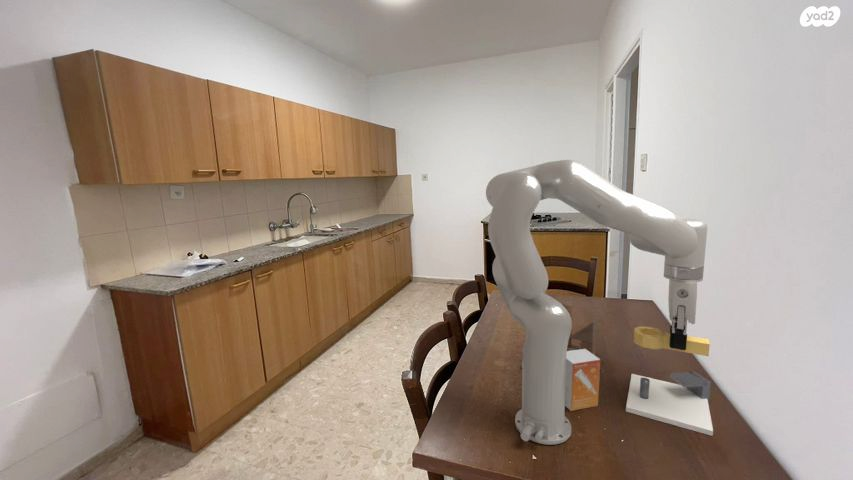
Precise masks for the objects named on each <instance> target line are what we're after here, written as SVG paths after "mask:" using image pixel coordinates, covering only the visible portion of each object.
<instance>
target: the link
mask: <svg viewBox="0 0 853 480" xmlns="http://www.w3.org/2000/svg"><path fill="white" fill-rule="evenodd" d="M633 343H634V344H636V345H638V346H639V347H641V348H646V349H649V350H660V349H666V350H672V351H676V352H683V353H688V354H691V355H692V354H694V355H699V356H703V357H704V356H705V357H709V355H710V346H711V345H710V340H709V339H708V338H703V337H697V336H691V335H687V343H686V350H680V349H674V348H670V332H666V331H663V330H661V329H659V328H657V327H651V326H645V325H644V326H637V327H634V332H633Z"/></svg>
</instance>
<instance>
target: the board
mask: <svg viewBox="0 0 853 480" xmlns="http://www.w3.org/2000/svg"><path fill="white" fill-rule="evenodd" d="M641 378H647V379H649V380H650V384H649V398H648V399H643V398H641V397H640V396H639V395H640V380H641ZM628 388H629V389H628V393H627V400H626V406H625V412H627V413H630V414H635V415H637V416H641V417H644V418H648V419H652V420H654V421H658V422H659V421H660V422H662V423H666V424H668V425H671V426H672V425H673V426H676V427H680V428H682V429H683V428H684V429H686V430H690V431H694V432H697V433H699V434H700V433H701V434H704V435H708V436H710V437H711V436H712V437H713V436H714V428H713V421H712V417H711V412H710V411H711V410H710V406H709V403H708V400H707V399H701V398H700V397H698V396H697V395H695V394H694V393H693V392H691V391H690V390H689V389H687V388H686V387H683V386H682V385H680V384H679V383H673V382H670V381H665V380H660V379H656V378H653V377H647V376H643V375H641V374H640V375H639V374H635V373H631V376H630V382H629V387H628Z"/></svg>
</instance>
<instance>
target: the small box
mask: <svg viewBox="0 0 853 480" xmlns="http://www.w3.org/2000/svg"><path fill="white" fill-rule="evenodd" d="M600 371H601V359H600V357H598V356H597V355H596V354H595V355H593V354H592V353H591V352H589V351H588V350H586V349H581V348H580V349H579V350H571V351H567V354H566V383H565V408H567V409H568V410H569V411H570V412H573V411H577V410H583V409H588V408H593V407H594V408H595V407H599V392H600V391H599V390H600V374H601V372H600Z"/></svg>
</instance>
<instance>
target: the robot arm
mask: <svg viewBox="0 0 853 480" xmlns="http://www.w3.org/2000/svg"><path fill="white" fill-rule="evenodd" d="M485 197H486V200H487V202H488V204H489V205H490V206H491V207H492V209H491V213H490V214H489V215H490V216H489V219H488V225H487V226H488V228H487V232H488V239H489V242H490V245H491V248H492V250H493V253H494V254H495V258H494V260H493V263H492V270H491V271H492V276H493V279H494V282H495V283H496V286H497V288H498V291H499V293H500V295H501V297H502V298H503V301H504V303H505V305H506V307H507V310H508V311H509V313H510V315H511V316H512V318H513V319H515V321H516V322H517V323H518V324H520V326H522V328H523V329H524V330H525V332H526V338H525V341H524V343H523V344H524V345H523V348H522V354H521V355H522V356H521V358H522V361H521V365H522V367H521V368H522V369H521V370H522V371H521V372H522V374H521V375H522V377H521V381H522V382H521V390H522V391H521V409H519V410H518V411H517V412H516V414H515V418H514V423H515V428H516V429H517V430H518V432H519V433H520V438H521V440H523V441H524V442H528V441H532V442H534V443H537V444H540V445H541V444H542V445H549V446H551V445H558V444H562V443H564V442H566V441H567V440H569V438H570V437H571V435H572V424H571V423H570V419H568V417H567V416H565V415H566V414H565V413H566V412H565V409H566V406H565V383H566V354H567V346H568V341H569V337H570V333H571V328H572V329H573V320H572V321H571V317H570V314H569V313H568V311H567V310H566V308H565V307H564V306H563V305H562V304H561V302H559V301H558V300H557V299H555V298H553V297H552V296H550V295H549V294H548V293H546V291H547V289H548V287H549V276H548V272H547V268H546V267H545V265H544V262H543V260H542V258H541V255H540V253H539V251H538V249H537V246H536V245H535V243H534V239H533V236H532V233H531V227H530V225H531V220H532V217H533V215H534V212H535V211H536V208H537V207H538V206H539V204H540V201H543V200H547V199H551V200H553V199H554V200H555V199H556V200H559V201H561V202H563V203H564V204H565V205H567V206H569V207H570V208H573V209H574V210H576V211H577V212H579V213H581V214H582V215H584V216H585V217H587V218H589V219H590V220H591V221H593V222H596V224H599V225H602V226H604V227H607V228H609V229H612V230H616V231H619V232H623V233H627V238H628V242H629V243H630V244H631V245H632V246H633V247H634V248H635V249H637V250H640V251H643V252H648V253H650V254H656V255H659V256H664V264H663V265H664V266H663V278H665V279H668V296H667V297H668V298H667V299H668V304H667V305H668V315H669V316H668V317H669V320H670V321H671V325H670V326H669V327H670V329H669V333H670V348H674V349H680V350H686V343H687V336H688V334H687V328H688V327H687V326H688V324H691V325H694V324H696V316H697V315H696V313H697V311H696V310H697V298H698V283H699V282H702V281H703V280H704V271H705V269H704V267H705V257H706V245H707V236H708V224H707V223H706V221H704V220H703V219H696V218H695V219H694V218H681V216H680V217H679V216H678V215H677V214H675V213H673V212H672V211H670V210H668V209H666V208H664V207H662V206H660V205H657V204H655V203H652V202H650V201H648V200H645V199H644V198H641V197H639V196H637V195H634V194H632V193H630V192H628V191H625V190H623V189H621V188H619V187H618V186H616V185H615V184H614V183H612V182H610V181H608V179H606V178H604V177H603V176H601V175H599V174H598V173H596V172H595V171H593V170H592V169H590V168H589V167H587V166H586V165H584V164H583V163H581V162H579V161H577V160H574V159H573V160H572V159H561V160H555V161H547V162H543V163H540V164H536V165H533V166H528V167H524V168H521V169H520V168H519V169H516V170H512V171H507V172H504V173H499V174H497V175H495V176H493V177H492V178H491V179H490V180H489V182H488V183H487V185H486V189H485Z"/></svg>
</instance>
